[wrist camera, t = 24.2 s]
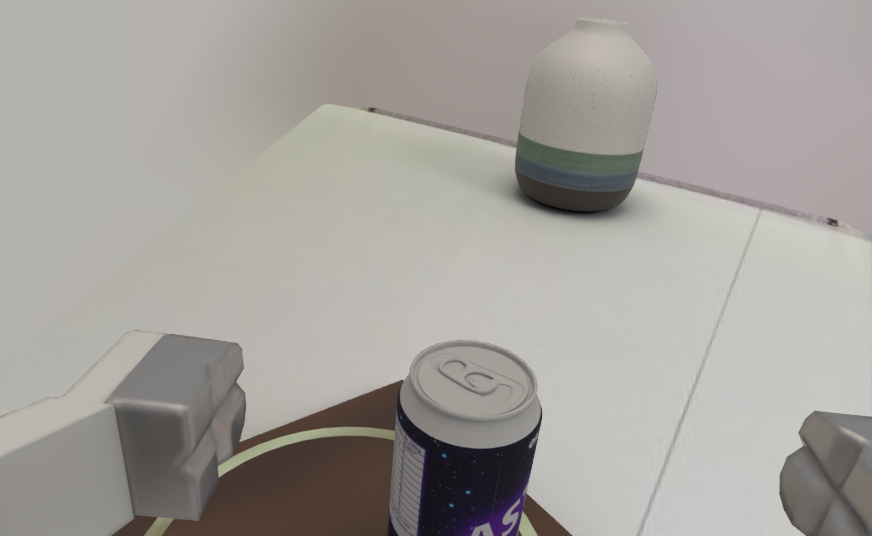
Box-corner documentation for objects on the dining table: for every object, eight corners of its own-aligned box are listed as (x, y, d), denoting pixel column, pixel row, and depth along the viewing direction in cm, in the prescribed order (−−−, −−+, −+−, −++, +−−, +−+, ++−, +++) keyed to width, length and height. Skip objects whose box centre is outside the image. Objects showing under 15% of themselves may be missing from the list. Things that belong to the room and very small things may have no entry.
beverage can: (451, 672, 25) (488, 449, 19) (358, 582, 28) (368, 371, 22) (527, 582, 29) (575, 377, 23) (438, 513, 32) (462, 319, 26)
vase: (647, 204, 87) (692, 28, 77) (594, 232, 75) (639, 28, 65) (548, 174, 97) (576, 14, 86) (486, 195, 85) (510, 12, 74)
